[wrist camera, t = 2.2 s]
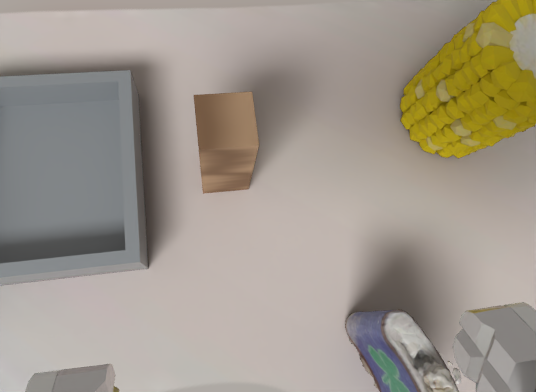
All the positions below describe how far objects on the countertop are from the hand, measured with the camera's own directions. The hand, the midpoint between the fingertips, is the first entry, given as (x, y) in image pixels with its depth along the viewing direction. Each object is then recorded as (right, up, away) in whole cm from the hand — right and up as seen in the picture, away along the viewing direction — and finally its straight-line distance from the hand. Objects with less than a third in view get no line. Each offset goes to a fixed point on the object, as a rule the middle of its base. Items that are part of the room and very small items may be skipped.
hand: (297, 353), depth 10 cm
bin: (-18, +5, +27) cm, 33 cm away
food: (+17, +11, +33) cm, 38 cm away
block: (-5, +6, +29) cm, 30 cm away
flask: (+8, -10, +26) cm, 29 cm away
